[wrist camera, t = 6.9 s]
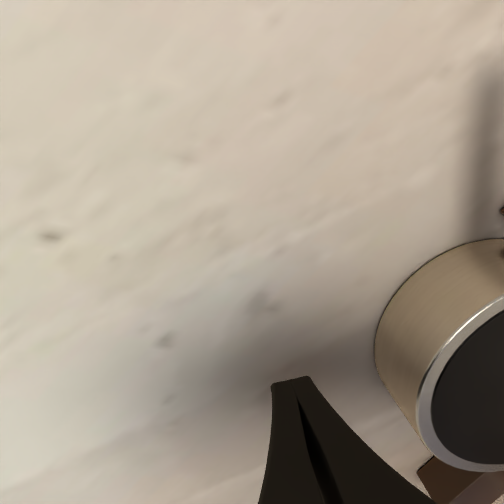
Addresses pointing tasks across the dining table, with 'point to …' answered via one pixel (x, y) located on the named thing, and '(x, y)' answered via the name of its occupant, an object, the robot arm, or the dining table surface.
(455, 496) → the corner stop
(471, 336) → the steel pan
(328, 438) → the robot arm
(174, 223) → the dining table surface
